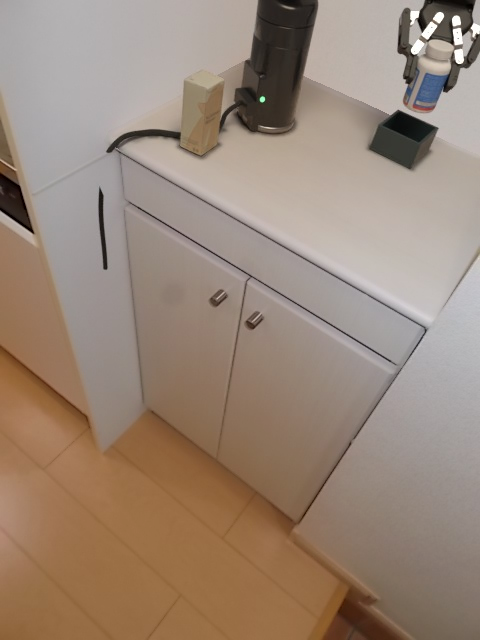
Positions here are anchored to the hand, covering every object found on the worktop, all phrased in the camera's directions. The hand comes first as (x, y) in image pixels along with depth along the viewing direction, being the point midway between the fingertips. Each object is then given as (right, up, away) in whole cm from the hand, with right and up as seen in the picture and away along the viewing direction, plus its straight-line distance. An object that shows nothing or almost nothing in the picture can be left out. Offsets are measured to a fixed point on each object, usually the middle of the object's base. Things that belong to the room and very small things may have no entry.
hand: (427, 86), depth 82 cm
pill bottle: (0, -1, +5) cm, 5 cm away
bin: (-1, -7, +10) cm, 13 cm away
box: (-36, -8, +3) cm, 37 cm away
